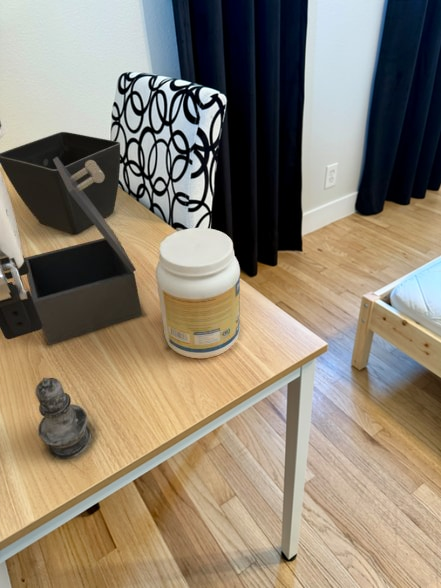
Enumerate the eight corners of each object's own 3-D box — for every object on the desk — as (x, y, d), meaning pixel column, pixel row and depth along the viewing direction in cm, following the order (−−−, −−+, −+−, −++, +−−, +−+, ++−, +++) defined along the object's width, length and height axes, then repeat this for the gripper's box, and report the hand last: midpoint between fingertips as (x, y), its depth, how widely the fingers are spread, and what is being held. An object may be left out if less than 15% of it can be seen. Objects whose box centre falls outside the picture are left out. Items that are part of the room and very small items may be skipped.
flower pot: (78, 194, 113) (61, 129, 103) (133, 210, 105) (122, 141, 95) (18, 225, 100) (-7, 154, 90) (76, 246, 92) (56, 170, 82)
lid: (68, 192, 57) (101, 170, 57) (52, 159, 66) (81, 141, 67) (132, 273, 68) (159, 254, 68) (110, 234, 78) (134, 218, 78)
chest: (48, 345, 69) (32, 302, 63) (37, 298, 78) (22, 258, 73) (142, 315, 74) (134, 273, 68) (120, 274, 84) (112, 235, 78)
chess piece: (36, 449, 54) (4, 387, 47) (69, 414, 58) (44, 352, 51) (71, 469, 52) (43, 407, 44) (103, 431, 56) (82, 369, 48)
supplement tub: (254, 343, 68) (257, 253, 57) (185, 373, 63) (174, 281, 53) (216, 301, 76) (213, 216, 66) (153, 325, 72) (138, 238, 61)
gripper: (-106, 101, 36) (-26, 268, 47) (-136, 172, 24) (-19, 376, 34) (-10, 89, 39) (45, 250, 49) (8, 147, 26) (75, 345, 37)
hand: (18, 302), depth 42 cm, fingers open, 9 cm apart
